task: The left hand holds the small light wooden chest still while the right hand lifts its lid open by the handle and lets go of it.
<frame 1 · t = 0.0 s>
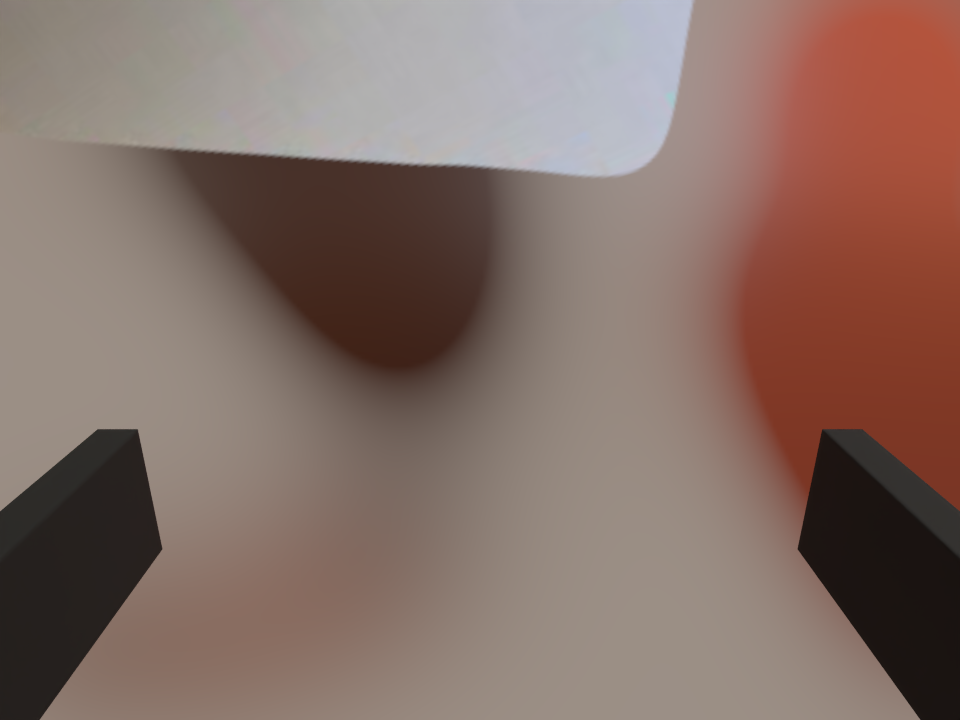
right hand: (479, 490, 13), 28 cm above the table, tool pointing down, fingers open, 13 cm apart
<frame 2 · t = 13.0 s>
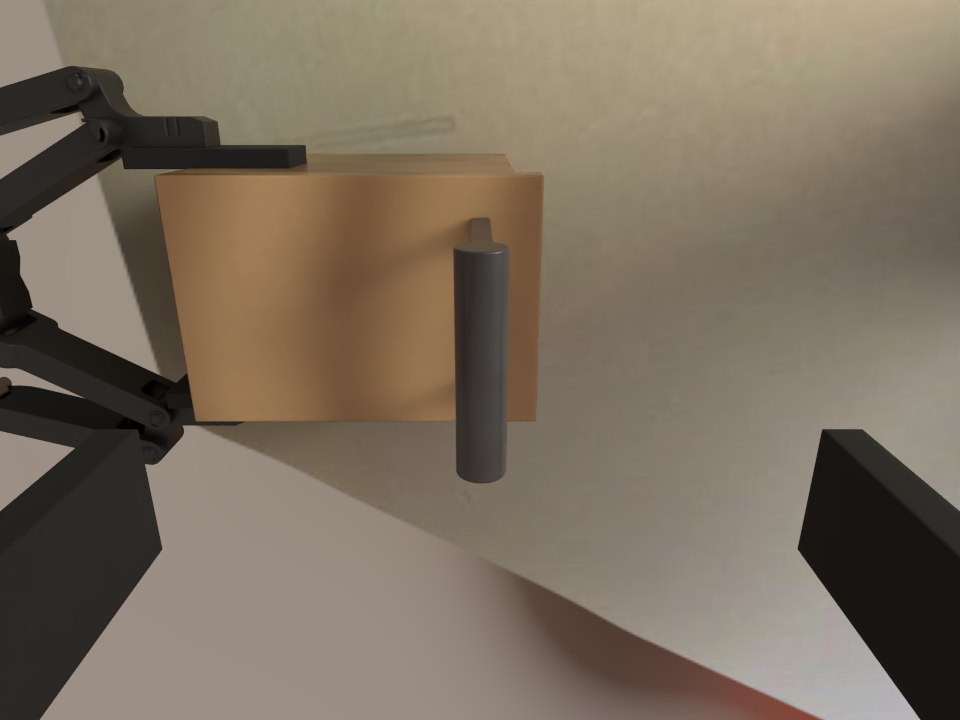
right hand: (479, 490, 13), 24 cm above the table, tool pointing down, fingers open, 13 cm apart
chest: (385, 247, 36), on the table, touching left hand
lid: (343, 331, 22), point 14 cm above the table, hinge at 0.0°
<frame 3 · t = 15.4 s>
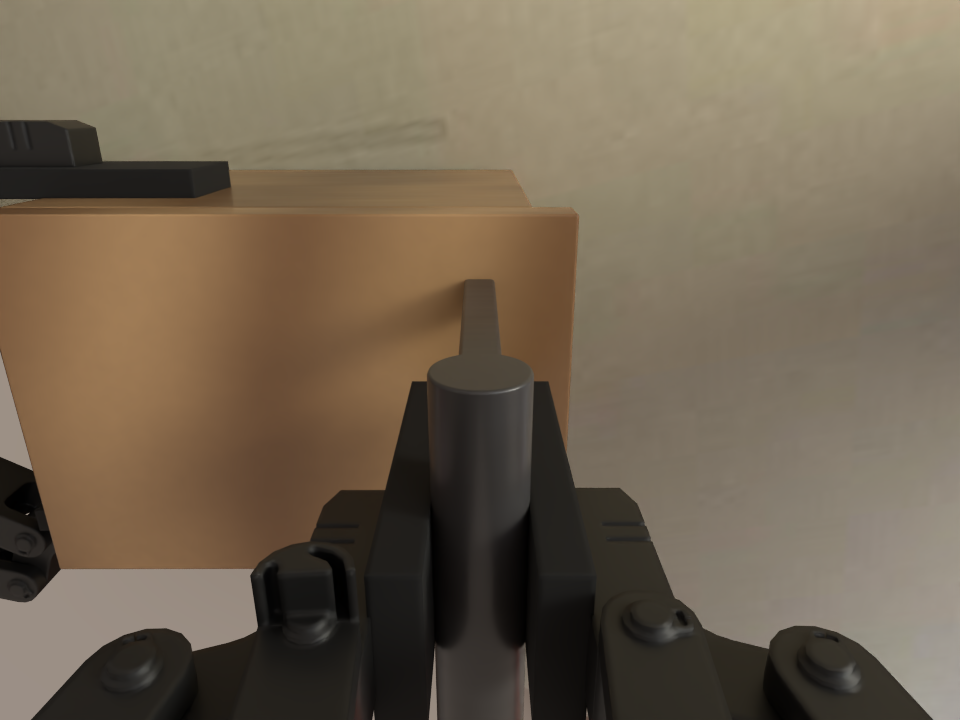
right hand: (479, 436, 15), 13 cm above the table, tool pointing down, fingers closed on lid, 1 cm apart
chest: (353, 291, 27), on the table, touching left hand
lid: (256, 469, 14), point 14 cm above the table, hinge at 0.0°, touching right hand
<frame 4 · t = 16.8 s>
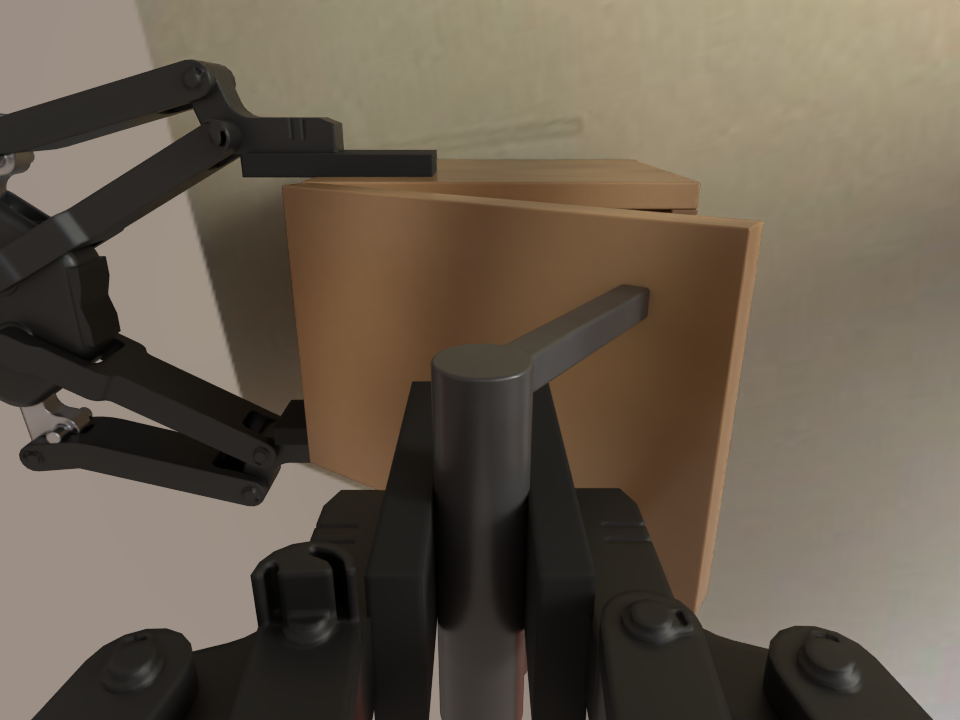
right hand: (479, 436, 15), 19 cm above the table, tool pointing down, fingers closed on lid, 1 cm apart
left hand: (437, 301, 26), fingers closed on chest, 10 cm apart
chest: (494, 261, 32), on the table, touching left hand
lid: (397, 417, 16), point 17 cm above the table, hinge at 33.9°, touching right hand
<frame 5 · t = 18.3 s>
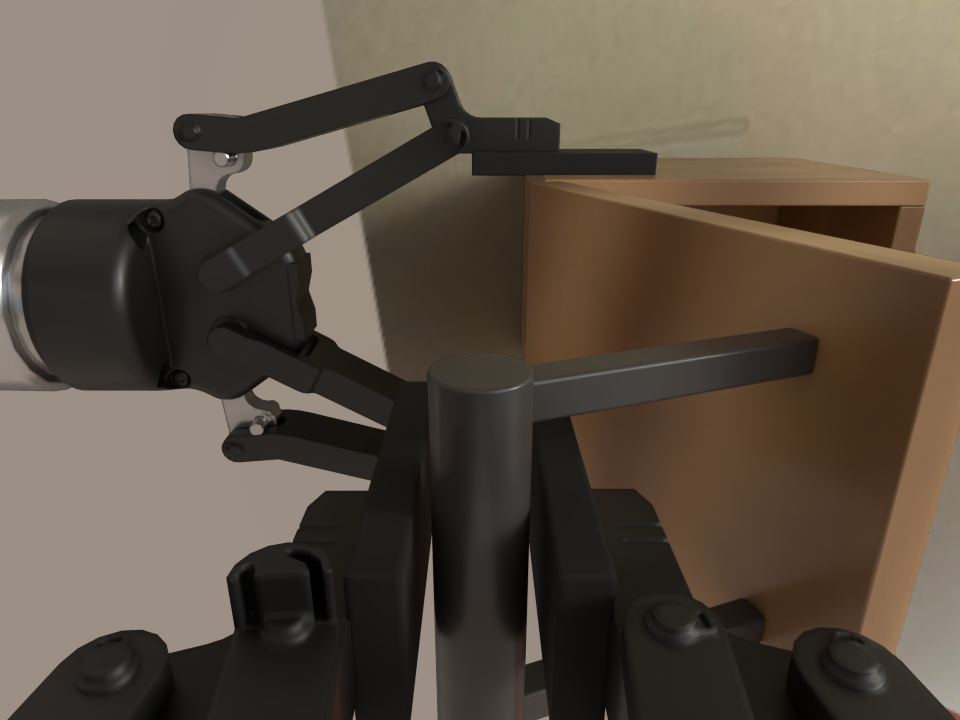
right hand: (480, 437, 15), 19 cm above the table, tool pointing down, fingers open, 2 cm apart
left hand: (635, 296, 26), fingers closed on chest, 10 cm apart
chest: (651, 258, 33), on the table, touching left hand
lid: (536, 420, 16), point 18 cm above the table, hinge at 68.6°
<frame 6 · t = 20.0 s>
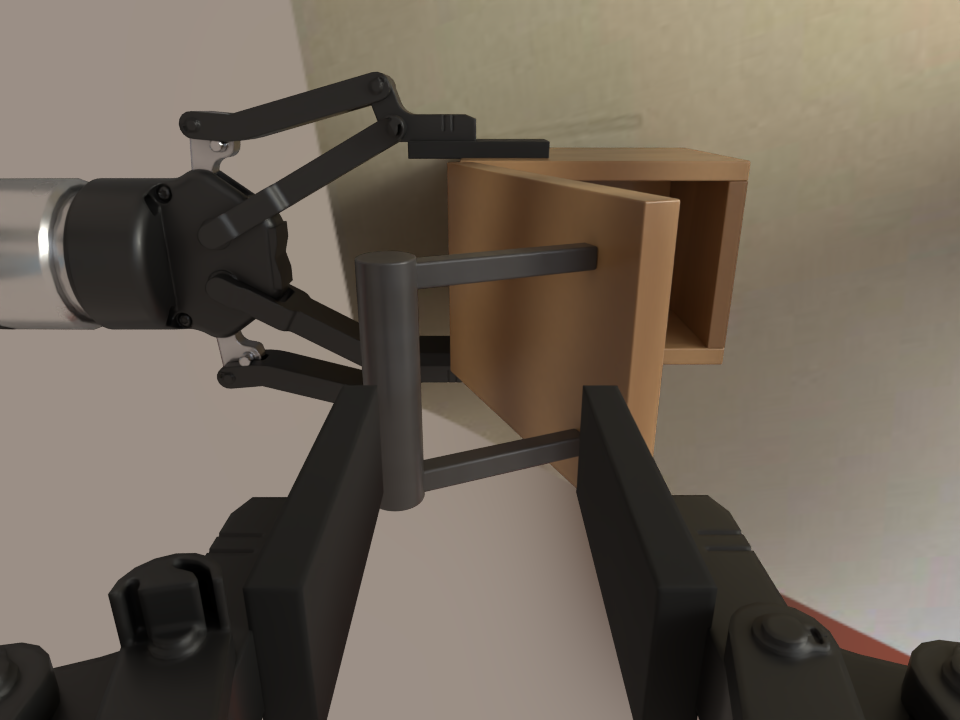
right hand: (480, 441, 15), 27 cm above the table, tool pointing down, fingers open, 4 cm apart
left hand: (542, 254, 34), fingers closed on chest, 10 cm apart
chest: (570, 230, 40), on the table, touching left hand
lid: (443, 322, 23), point 18 cm above the table, hinge at 66.1°
when the left hand's fingers open (7 cm above the table, at t = 22.3 s): chest stays where it is, on the table.
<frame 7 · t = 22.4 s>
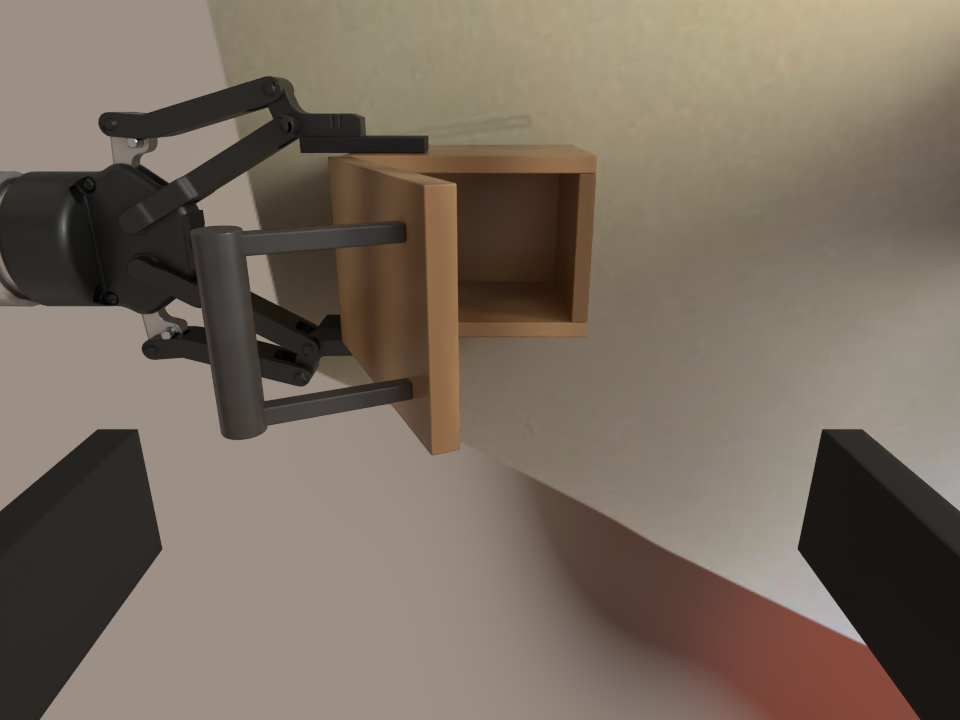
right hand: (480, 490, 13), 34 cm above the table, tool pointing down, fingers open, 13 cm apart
left hand: (429, 240, 38), fingers open, 10 cm apart
chest: (472, 220, 44), on the table
lid: (303, 291, 27), point 18 cm above the table, hinge at 65.3°
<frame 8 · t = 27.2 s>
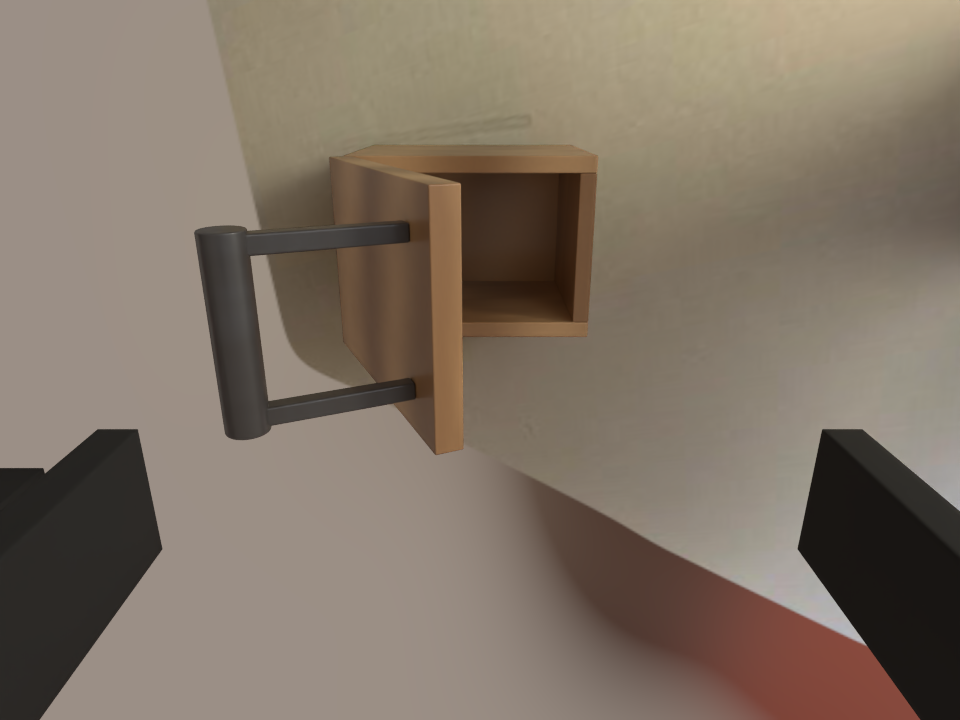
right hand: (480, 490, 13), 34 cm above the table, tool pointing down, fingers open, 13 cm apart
chest: (472, 220, 44), on the table
lid: (306, 291, 27), point 18 cm above the table, hinge at 65.3°
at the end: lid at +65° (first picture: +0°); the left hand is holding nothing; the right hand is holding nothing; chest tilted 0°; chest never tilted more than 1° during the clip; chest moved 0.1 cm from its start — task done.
